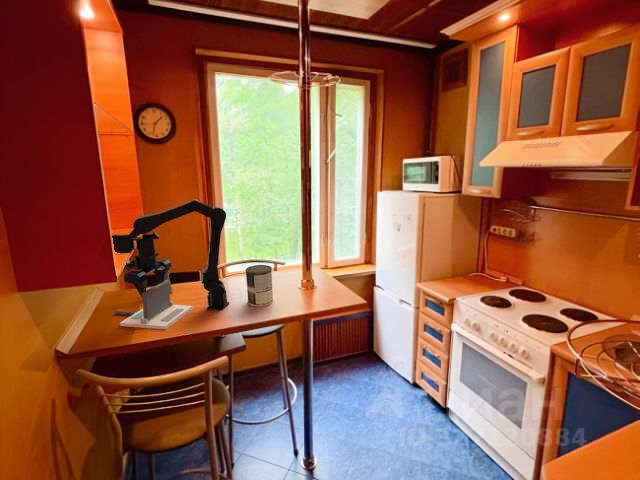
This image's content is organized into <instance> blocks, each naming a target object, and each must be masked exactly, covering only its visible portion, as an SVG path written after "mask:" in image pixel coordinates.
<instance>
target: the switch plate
mask: <svg viewBox="0 0 640 480" xmlns="http://www.w3.org/2000/svg"><path fill="white" fill-rule="evenodd" d="M193 309H194V307H193V305H182V304H174V301H172V300H170V305H169V306H168V307H166V308H165V309H163V310H162V311H160V312H159V313H157V314H156V315H155V316H153V317H152V318H150V319H149V320H147V319H145V318H144V312H143V308H141V309H140V310H138V311H136V312H135V311H126V310H125V311H123V310H115V311H114V315H122V316H123V315H125V316H128V317H127V318H125V319H124V320H122V321H120V322H119V325H120V327H129V328H131V327H133V328H142V329H157V330H168V329H169V328H170V327H172V326H173V325H174V324H175V323H177V322H178V321H180V319H182V318H183V317H184V316H186V315H187V314H188V313H190V312H191V311H192V310H193Z"/></svg>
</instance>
